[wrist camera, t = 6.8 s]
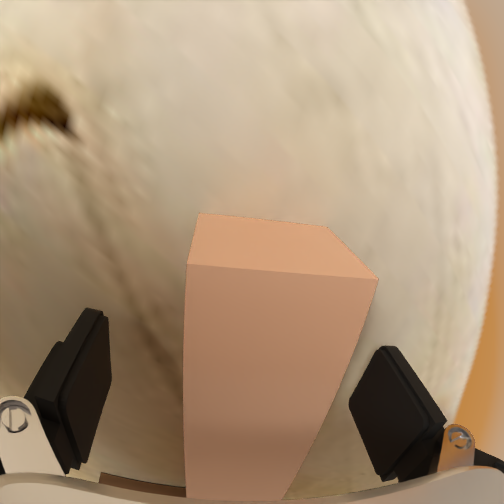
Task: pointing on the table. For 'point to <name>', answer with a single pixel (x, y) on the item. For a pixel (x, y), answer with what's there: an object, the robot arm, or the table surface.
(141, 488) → the rack
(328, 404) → the tan pink long block
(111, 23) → the table surface
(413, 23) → the table surface
